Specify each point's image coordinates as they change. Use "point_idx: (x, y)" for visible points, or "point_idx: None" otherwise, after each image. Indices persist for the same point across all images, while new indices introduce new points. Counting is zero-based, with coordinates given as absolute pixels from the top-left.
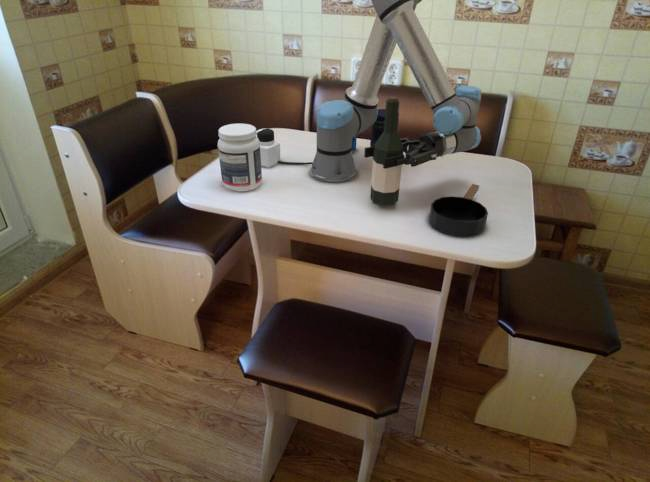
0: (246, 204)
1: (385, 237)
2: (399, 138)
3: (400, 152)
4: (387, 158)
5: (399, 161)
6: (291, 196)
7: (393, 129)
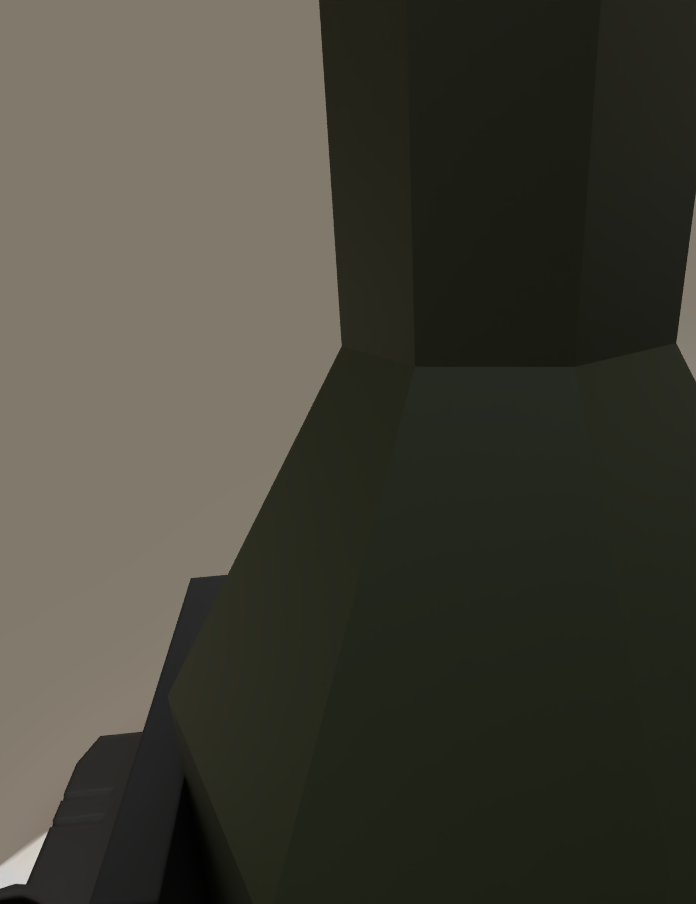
0: None
1: (10, 884)
2: (353, 593)
3: (209, 828)
4: (200, 602)
5: (78, 779)
6: None
7: (341, 234)
